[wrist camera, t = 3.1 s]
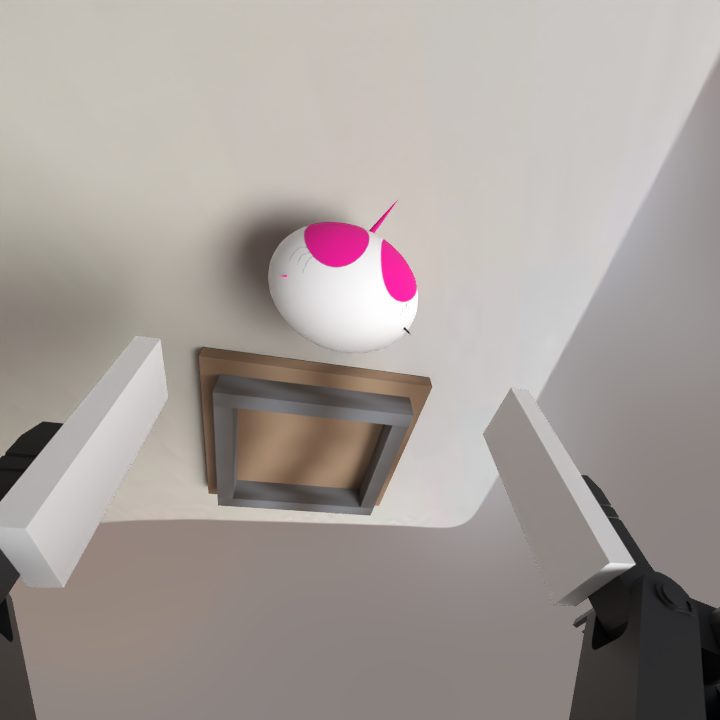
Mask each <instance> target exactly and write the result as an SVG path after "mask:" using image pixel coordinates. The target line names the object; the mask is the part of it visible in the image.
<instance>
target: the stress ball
mask: <svg viewBox="0 0 720 720" xmlns="http://www.w3.org/2000/svg"><path fill="white" fill-rule="evenodd" d="M396 202H397V201H396ZM396 202H395V203H396ZM395 203H394V204H393V205H392V206H391V207H390V209H389V210H388V211H387V212H386V213H385V214H384V215H383V216H382V217H381V218H380V219H379V221H378V222H377V223H376V224H375V225H374V226H373V227H372V228H371V229H370V230H369V231H368V230H366V229H364V228H361V227H358V226H355V225H351V224H346V223H338V222H323V223H316V224H311V225H308V226H305V227H302V228H300V229H298V230H296V231H294V232H293V233H291V234H290V235H289V236H287V237H286V238H285V239H284V240H283V241H282V242H281V243H280V244H279V246H278V247H277V249H276V250H275V252H274V254H273V256H272V258H271V262H270V265H269V272H268V282H269V288H270V293H271V296H272V299H273V301H274V304H275V306H276V308H277V309H278V311H279V313H280V314H281V316H282V317H283V318H284V319H285V321H286V322H287V323H288V324H289V325H290V326H291V327H292V328H293V329H294V330H295V331H297V332H298V333H299V334H300V335H302V336H303V337H305V338H306V339H308V340H310V341H311V342H313V343H315V344H317V345H319V346H322V347H324V348H327V349H330V350H334V351H339V352H345V353H366V352H372V351H376V350H379V349H382V348H385V347H387V346H389V345H391V344H392V343H394V342H395V341H397V340H398V339H399V338H400V337H402V336H403V335H404V334H405V332H406V331H407V332H408V329H409V327H410V326H411V324H412V322H413V320H414V318H415V315H416V311H417V306H418V290H417V285H416V281H415V278H414V275H413V273H412V271H411V269H410V267H409V266H408V264H407V262H406V261H405V259H404V258H403V257H402V256H401V254H400V253H399V252H398V251H397V250H396V249H395V248H394V247H393V246H392V245H391V244H389V243H388V242H387V241H385V240H384V239H383V238H381V237H380V236H378V235H376V234H375V231H376V230H377V229H378V227H379V226H380V224H381V223H382V222H383V220H384V219H385V217H386V216H387V214H388V213H389V212H390V210H391V209H392V207H393V206H394V205H395ZM408 333H409V332H408ZM409 334H410V333H409ZM410 335H411V334H410Z"/></svg>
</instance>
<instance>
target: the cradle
mask: <svg viewBox="0 0 720 720" xmlns="http://www.w3.org/2000/svg"><path fill="white" fill-rule="evenodd" d="M199 368H200V382H201V395H202V409H203V422H204V436H205V449H206V463H207V477H208V490H209V494H218V505H222V506H237V507H252V508H267V509H282V510H297V511H312V512H327V513H342V514H357V515H371V513H372V510H373V508H374V506H375V505H377V506H379V504H380V502H381V500H382V498H383V495H384V493H385V491H386V489H387V487H388V484H389V482H390V480H391V478H392V475H393V473H394V471H395V469H396V466H397V464H398V462H399V460H400V458H401V455H402V453H403V451H404V449H405V446H406V444H407V442H408V440H409V438H410V435H411V433H412V431H413V429H414V426H415V424H416V422H417V420H418V417H419V415H420V413H421V411H422V409H423V406H424V404H425V402H426V400H427V397H428V395H429V393H430V391H431V389H432V384H431V381H430V378H428V377H421V376H413V375H406V374H398V373H391V372H384V371H376V370H369V369H361V368H354V367H346V366H339V365H332V364H324V363H317V362H309V361H302V360H295V359H287V358H280V357H272V356H265V355H258V354H250V353H243V352H235V351H228V350H220V349H213V348H206V347H203V349H202V351H201V353H200V355H199Z"/></svg>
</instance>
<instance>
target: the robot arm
mask: <svg viewBox="0 0 720 720" xmlns="http://www.w3.org/2000/svg"><path fill="white" fill-rule="evenodd" d="M167 399H168V391H167V384H166V377H165V370H164V363H163V355H162V348H161V341H160V339H158V338H151V337H144V336H137V335H136V336H135V337H134V338H133V340H132V341H131V342H130V343H129V345H128V346H127V347H126V348H125V349H124V351H123V352H122V353H121V354H120V356H119V357H118V358H117V359H116V361H115V362H114V363H113V364H112V365H111V367H110V368H109V369H108V370H107V372H106V373H105V374H104V375H103V376H102V378H101V379H100V380H99V381H98V383H97V384H96V385H95V386H94V387H93V389H92V390H91V391H90V392H89V394H88V395H87V396H86V397H85V399H84V400H83V401H82V402H81V403H80V405H79V406H78V407H77V408H76V410H75V411H74V412H73V413H72V414H71V416H70V417H69V418H68V419H67V421H66V422H65V423H64V424H62V423H52V422H42V423H40V424H38V425H37V426H35V427H34V428H32V429H31V430H29V431H27V432H26V433H24V434H23V435H21V436H20V437H19V438H18V439H17V441H16V442H15V443H14V444H13V445H12V446H11V447H10V448H9V449H8V450H7V451H6V454H5V456H2V457H1V458H0V720H36V715H35V711H34V705H33V700H32V695H31V690H30V685H29V681H28V676H27V671H26V666H25V661H24V656H23V652H22V646H21V642H20V636H19V632H18V627H17V622H16V617H15V612H14V607H13V602H12V598H11V596H10V594H9V592H10V590H11V589H12V587H13V585H14V584H15V582H16V581H17V579H18V578H19V576H20V578H21V579H22V580H23V581H24V582H25V584H26V585H27V586H28V587H52V588H64V586H65V585H66V583H67V581H68V579H69V577H70V575H71V574H72V572H73V570H74V568H75V566H76V565H77V563H78V561H79V559H80V557H81V555H82V554H83V552H84V550H85V548H86V546H87V544H88V543H89V541H90V539H91V537H92V535H93V533H94V532H95V530H96V528H97V526H98V524H99V523H100V521H101V519H102V517H103V515H104V514H105V512H106V510H107V508H108V506H109V505H110V503H111V501H112V499H113V497H114V495H115V494H116V492H117V490H118V488H119V486H120V485H121V483H122V481H123V479H124V477H125V475H126V474H127V472H128V470H129V468H130V466H131V465H132V463H133V461H134V459H135V457H136V455H137V454H138V452H139V450H140V448H141V446H142V445H143V443H144V441H145V439H146V437H147V435H148V434H149V432H150V430H151V428H152V426H153V425H154V423H155V421H156V419H157V417H158V415H159V414H160V412H161V410H162V408H163V406H164V404H165V403H166V401H167ZM483 435H484V438H485V440H486V442H487V445H488V447H489V450H490V452H491V455H492V457H493V459H494V462H495V464H496V467H497V469H498V472H499V474H500V477H501V479H502V481H503V484H504V486H505V489H506V491H507V494H508V496H509V498H510V501H511V503H512V506H513V508H514V511H515V513H516V515H517V518H518V520H519V523H520V525H521V528H522V530H523V533H524V535H525V537H526V540H527V542H528V545H529V547H530V550H531V552H532V554H533V557H534V559H535V562H536V564H537V567H538V569H539V571H540V574H541V576H542V579H543V581H544V584H545V586H546V589H547V591H548V594H549V596H550V598H551V601H552V603H553V605H561V606H577V605H578V604H580V603H581V602H582V601H584V600H585V599H587V598H589V600H590V602H591V604H592V606H593V608H592V609H591V610H589V611H588V612H586V613H585V614H583V615H581V616H580V617H579V618H577V619H576V620H575V622H574V624H573V625H574V626H575V627H576V628H577V627H579V626H580V625H582V624H583V623H585V622H586V626H585V629H584V630H583V631H582V632H583V633H584V637H583V643H582V649H581V655H580V660H579V667H578V672H577V677H576V683H575V690H574V695H573V701H572V707H571V712H570V718H569V720H720V607H719V608H714V607H711V606H709V605H707V604H704V603H701V602H699V601H697V600H694V599H691V598H690V597H689V595H688V594H687V593H686V592H685V591H684V590H683V589H682V588H681V586H680V585H678V584H677V583H676V582H674V581H673V580H672V579H671V578H669V577H668V576H665V575H664V574H662V573H659V572H655V571H654V570H653V569H652V567H651V566H650V564H648V561H647V560H646V559H645V557H644V555H643V554H642V552H641V551H640V549H639V548H638V546H637V544H636V543H635V541H634V540H633V538H632V537H631V535H630V534H629V532H628V530H627V529H626V527H625V526H624V524H623V523H622V521H621V520H619V519H618V515H617V514H616V512H615V510H614V509H613V508H612V507H611V506H610V505H611V504H610V503H609V501H608V499H607V498H606V496H605V495H604V493H603V492H602V490H601V489H600V488H599V487H598V486H597V485H596V484H595V483H594V482H593V481H592V480H591V479H590V478H589V477H588V476H586V475H580V473H579V471H578V470H577V468H576V466H575V465H574V463H573V462H572V460H571V458H570V457H569V455H568V454H567V452H566V450H565V449H564V447H563V446H562V444H561V442H560V441H559V439H558V437H557V436H556V434H555V432H554V431H553V429H552V428H551V426H550V424H549V423H548V421H547V420H546V418H545V416H544V415H543V413H542V411H541V410H540V408H539V407H538V405H537V403H536V402H535V400H534V398H533V397H532V395H531V394H530V392H529V390H522V389H515V388H511V389H510V391H509V392H508V394H507V396H506V397H505V399H504V400H503V402H502V404H501V405H500V407H499V409H498V410H497V412H496V414H495V415H494V417H493V418H492V420H491V422H490V423H489V425H488V427H487V428H486V430H485V432H484V433H483Z"/></svg>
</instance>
